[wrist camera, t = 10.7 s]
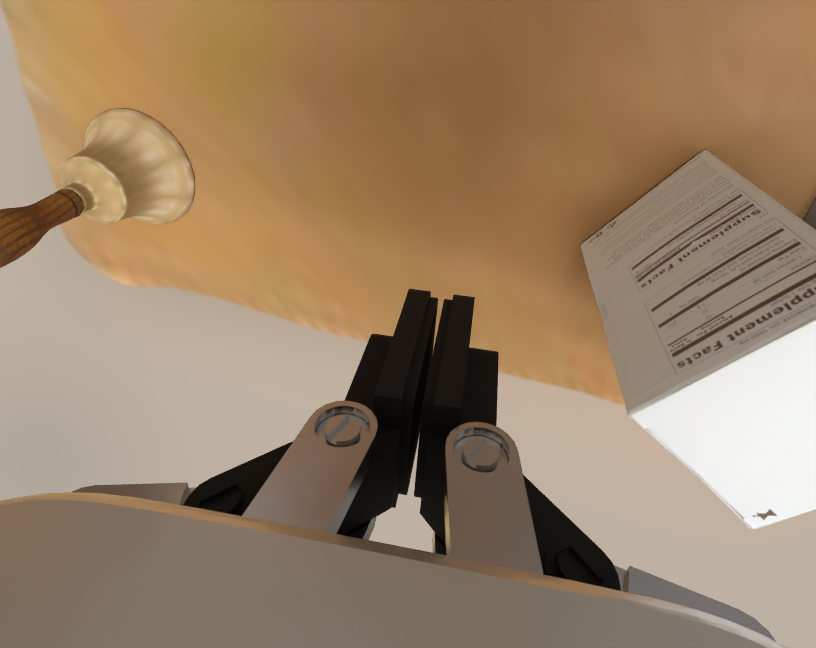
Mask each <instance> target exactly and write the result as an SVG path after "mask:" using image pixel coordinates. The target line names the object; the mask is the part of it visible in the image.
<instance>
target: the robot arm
mask: <svg viewBox="0 0 816 648" xmlns="http://www.w3.org/2000/svg"><path fill="white" fill-rule="evenodd" d="M430 296H431V292H430V291H423V290H415V289H409V291H408V294H407V297H406V300H405V303H404V306H403V309H402V312H401V315H400V318H399V321H398V324H397V327H396V330H395V333H394V335H393V337H392V336H385V335H378V334H372V335H371V337H370V339H369V341H368V344H367V346H366V349H365V351H364V354H363V356H362V359H361V361H360V364H359V366H358V369H357V371H356V374H355V376H354V379H353V381H352V384H351V386H350V389H349V391H348V394H347V396H346V399H345V401H336V402H332V403H329V404H326V405H324V406H323V407H321V408H319V409H317V410H316V411H315V412H314V413H313V414H312V416H311V417H310V418H309V420H308V421H307V423H306V424H305V425H304V427H303V428H302V430H301V431H300V433H299V434H298V436H297V437H296V439H295V440H294V441H293V442H290V443H288V444H286V445H284V446H281V447H279V448H277V449H275V450H272V451H271V452H268V453H266V454H264V455H262V456H259V457H257V458H255V459H252V460H250V461H248V462H246V463H244V464H241V465H239V466H237V467H235V468H232V469H231V470H228V471H226V472H224V473H221V474H219V475H217V476H215V477H212V478H210V479H209V480H207V481H205V482H204V483H202V484H200V485H199V486H198V487H197V488H189V487H188V484H187V483H157V484H125V485H124V484H122V485H94V486H88V487H83V488H80V489H77V490H75V491H73V492H70V493H48V494H37V495H31V496H24V497H18V498H12V499H7V500H2V501H0V648H787V647H785V646H783V645H782V644H779V643H778V642H776V641H775V639H774V638H773V636H772V635H771V634H770V632H769V631H768V630H767V629H766V628H765V627H763V626H762V625H761V624H760V623H759V622H758V621H757V620H756V619H755V618H753V617H751V616H750V615H748V614H746V613H744V612H742V611H741V610H739V609H737V608H734V607H732V606H729V605H727V604H724V603H721V602H719V601H717V600H714V599H712V598H709V597H707V596H704V595H702V594H699V593H696V592H694V591H691V590H689V589H687V588H684V587H682V586H679V585H677V584H674V583H671V582H669V581H666V580H664V579H662V578H659V577H657V576H654V575H652V574H649V573H646V572H644V571H642V570H639V569H637V568H634V567H632V566H629V568H628V569H627V570H624V569H622V568H619V567H617V566H614V565H613V563H612V562H611V560H610V559H609V558H608V557H607V556H606V554H605V553H604V552H603V551H602V550H601V549H600V548H599V547H598V546H597V545H596V544H595V543H594V542H593V541H592V540H591V539H590V538H589V537H588V536H586V535H585V534H584V533H583V532H582V531H581V530H580V529H579V528H578V527H577V526H576V525H575V524H574V523H573V522H572V521H571V520H570V519H569V518H568V517H566V516H565V515H564V513H562V512H561V511H560V510H559V509H558V508H557V507H556V506H555V505H554V504H553V503H552V502H551V501H550V500H549V499H548V498H547V497H546V496H545V495H544V494H542V492H540V491H539V490H538V489H537V488H536V487H535V486H534V485H533V484H532V483H531V482H530V481H529V480H528V479H527V478H526V477H525V476H524V475H523V473H522V468H521V463H520V458H519V454H518V450H517V447H516V445H515V442H514V441H513V440H512V439H511V437H510V436H509V435H508V434H507V433H506V432H504V431H503V430H501V429H500V428H498V427H496V419H497V385H498V352H496V351H489V350H482V349H475V348H469V343H470V334H471V326H472V317H473V308H474V299H475V297H468V296H460V295H453V300H448V299H444V303H443V308H442V313H441V318H440V322H439V327H438V332H437V337H436V341H435V346H434V351H433V345H434V335H435V325H436V315H437V305H438V298H433V297H430ZM432 354H433V356H432ZM419 434H420V436H419ZM418 438H419V448H418V459H417V469H416V481H415V490H414V496H415V497H420V498H421V507H420V514H421V515H422V516H423V518H424V519H425V520H426V521H427V523H428V524H429V525H430V526H431V528H432V529H433V530H434V531H433V538H432V542H433V553H431V552H425V551H421V550H415V549H410V548H405V547H400V546H395V545H390V544H385V543H379V542H374V541H369V538H370V536H371V533H372V531H373V529H374V526H375V521H376V516H378V515H380V514H381V513H383V512H385V511H387V510H388V509H390V508H391V507H394V508H395V507H396V502H397V498H398V494H404V495H407V492H408V487H409V483H410V478H411V473H412V468H413V463H414V458H415V452H416V448H417V443H418Z"/></svg>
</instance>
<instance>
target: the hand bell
mask: <svg viewBox="0 0 816 648" xmlns="http://www.w3.org/2000/svg"><path fill="white" fill-rule="evenodd" d="M59 184H60V188H61V190H59V191H57V192H55V193H54V194H52V195H50V196H48V197H46V198H44V199H42V200H40V201H38V202H37V203H35V204H32V205H29V206H25V207H19V208H7V209H1V210H0V268H1V267H3V266H5V265H7V264H9V263H11V262H13V261H15V260H16V259H18V258H19V257H21V256H23V255H24V254H25V253H27V252H28V251H29V250H31V249H32V248H33V247H34V246H35V245H36V244H37V243H38V242H39V241H40V239H41V238H42V237H43V235H45V234H46V233H47V232H48V231H49V230H50V229H51V228H53V227H55V226H57V225H59V224H62V223H64V222H66V221H68V220H71V219H72V218H75V217H77V216H80V215H82V216H84V217H85V218H87V219H89V220H91V221H94V222H97V223H103V224H109V223H114V222H117V221H120V220H122V219H125V218H129V217H131V218H134V219H136V220H139V221H142V222H147V223H154V224H163V223H169V222H172V221H175V220H177V219H179V218H180V217H182V216H183V215H184V214H185V213H186V212H187V211H188V209H189V208H190V206H191V204H192V201H193V197H194V191H195V179H194V173H193V170H192V167H191V163H190V161H189V159H188V157H187V155H186V153H185V151H184V150H183V148H182V146H181V145H180V143H179V142H178V141H177V140H176V138H175V137H174V136H173V135H172V134H171V133H170V132H169V131H168V130H167V129H166V128H165V127H164V126H163V125H161V124H160V123H159V122H157V121H156V120H154V119H153V118H151V117H149V116H147V115H145V114H143V113H141V112H138V111H134V110H131V109H122V108H117V109H111V110H108V111H105V112H103V113H101V114H99V115H98V116H97V117H96V118H95V119H94V120H93V121H92V122H91V124H90V125H89V127H88V129H87V131H86V134H85V137H84V143H83V150H82V151H81V152H79V153H78V154H76V155H74V156H72V157H70V158H69V159H67V160H66V161H65V162H64V164H63V165H62V167H61V169H60V173H59Z"/></svg>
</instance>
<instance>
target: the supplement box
mask: <svg viewBox="0 0 816 648" xmlns="http://www.w3.org/2000/svg"><path fill="white" fill-rule="evenodd" d="M580 247H581V251H582V254H583V258H584V261H585V265H586V268H587V272H588V276H589V279H590V283H591V286H592V290H593V293H594V297H595V300H596V303H597V306H598V308H599V311H600V314H601V317H602V322H603V326H604V330H605V334H606V338H607V342H608V345H609V349H610V352H611V356H612V360H613V363H614V367H615V370H616V374H617V377H618V381H619V384H620V388H621V391H622V395H623V398H624V402H625V406H626V410H627V414H628V415H629V416H630V417H631V418H632V419H633V420H634V421H635V422H637V423H638V424H639V425H640V426H641V427H642V428H644V429H645V430H646V431H647V432H648V433H649V434H650V435H652V436H653V437H654V438H655V439H656V440H657V441H658V442H660V443H661V444H662V445H663V446H664V447H665V448H666V449H668V450H669V451H670V452H671V453H672V454H673V455H674V456H676V457H677V458H678V459H679V460H680V461H681V462H682V463H683V464H684V465H685V466H687V467H688V468H689V469H690V470H691V471H692V472H693V473H694V474H695V475H696V476H698V477H699V478H700V479H701V480H702V481H703V482H704V483H705V484H706V485H707V486H708V487H709V488H710V489H711V490H712V491H713V492H714V493H715V494H716V495H717V496H718V497H719V498H720V499H721V500H722V501H724V503H725V504H726V505H727V506H729V508H730V509H732V510H733V511H734V512H735V513H736V515H737V516H738V517H739V518H740V519H741V520H742V521H743V522H744V523H745V524H746V526H747V527H749V528H750V529H756V528H760V527H763V526H766V525H769V524H772V523H775V522H778V521H781V520H784V519H787V518H790V517H793V516H796V515H799V514H803V513H806V512H809V511H811V510H814V509H816V230H815V229H814V228H812V227H811V226H809V225H808V224H807V223H805V222H804V221H803V220H801V219H800V218H798V217H797V216H796V215H794V214H793V213H792V212H790V211H789V210H788V209H786V208H785V207H784V206H782V205H781V204H779V203H778V202H777V201H775V200H774V199H773V198H771V197H770V196H769V195H767V194H766V193H765V192H763V191H762V190H760V189H759V188H758V187H756V186H755V185H753V184H752V183H751V182H749V181H748V180H747V179H745V178H744V177H743V176H741V175H740V174H739V173H737V172H736V171H735V170H733V169H732V168H731V167H729V166H728V165H726V164H725V163H724V162H722V161H721V160H720V159H718V158H717V157H715V156H714V155H713V154H711V153H710V152H709V151H707V150H704V151H702V152H701V153H699V154H698V155H697V156H695V157H694V158H693V159H691V160H690V161H689V162H687V163H686V164H685V165H683V166H682V167H681V168H680V169H678V170H677V171H676V172H674V173H673V174H672V175H670V176H669V177H668V178H667V179H665V180H664V181H663V182H661V183H660V184H659V185H657V186H656V187H655V188H654V189H652V190H651V191H650V192H648V193H647V194H646V195H644V196H643V197H642V198H641V199H639V200H638V201H637V202H635V203H634V204H633V205H632V206H630V207H629V208H628V209H626V210H625V211H624V212H622V213H621V214H620V215H619V216H617V217H616V218H615V219H613V220H612V221H611V222H609V223H608V224H607V225H606V226H604V227H603V228H602V229H600V230H599V231H598V232H597V233H595V234H594V235H593V236H591V237H590V238H589V239H587V240H586V241H585V242H584V243H582V244H581V246H580Z"/></svg>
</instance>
